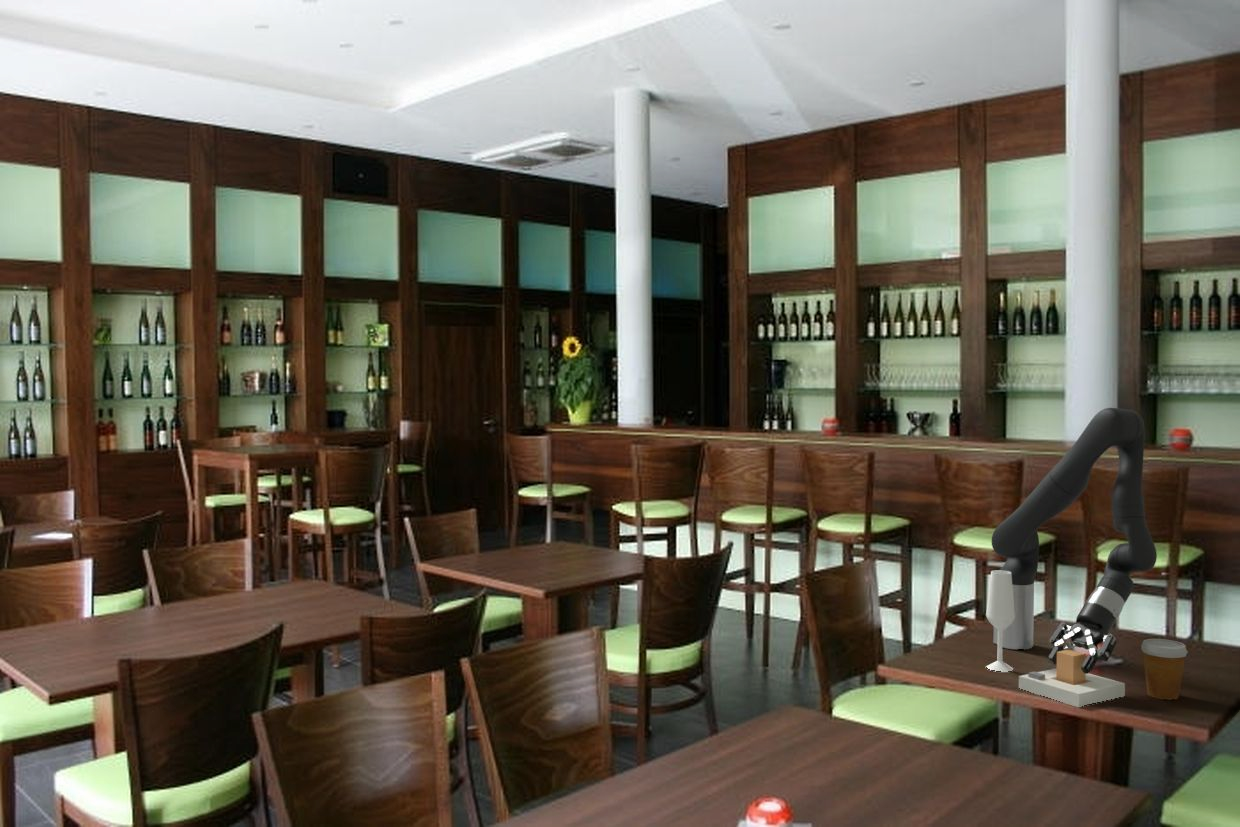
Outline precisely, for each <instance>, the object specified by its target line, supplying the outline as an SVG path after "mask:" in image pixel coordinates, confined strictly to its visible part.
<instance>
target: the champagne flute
mask: <svg viewBox="0 0 1240 827" xmlns="http://www.w3.org/2000/svg"><path fill="white" fill-rule="evenodd" d="M985 616H986V618H987V621H988V622H989V623H990V625H992V626H993V628H994V627H995V628H996V629H998V645H997V655H996V656H997V658H996V659H997V660H996V661H994V662H992V663H990V664H988V665H986V666H985V668H986V667H987V668H988V669H990V670H989V671H991V670H995V671H994V672H996V671H1001V672H1000V673H1009V672H1008V671H1012V670H1013V669H1014V667H1012V666H1011V665H1009V664H1007V663H1006V662H1005V661H1003V630H1004V629H1006V628H1007V627H1008V626H1009V625H1010V624H1011V623H1012V622H1013V621H1014V619H1015V611H1014V599H1013V587H1012V575H1011V572H1009V571H1002V570H1000V569H999V570H996V569H995V570H991V571H990V577H989V587H988V597H987V604H986V613H985ZM988 669H987V670H988ZM1012 672H1013V671H1012Z"/></svg>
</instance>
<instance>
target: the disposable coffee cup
mask: <svg viewBox="0 0 1240 827" xmlns="http://www.w3.org/2000/svg"><path fill="white" fill-rule="evenodd" d="M1140 649H1141V651H1142V656H1143V664H1144V673H1145V682H1146V689H1147V690H1146V691H1147V692H1146V693H1147V696H1149V697H1152V698H1153V697H1154V699H1159V700H1164V699H1165V700H1166V699H1167V701H1173V700H1172V699H1174V700H1178V699H1179V698H1178V697H1180V689H1181V685H1182V679H1183V672H1184V666H1185V659H1186V656H1187V654H1188V653H1189V652H1188V650H1187V648H1186V644H1184V643H1183V642H1181V641H1176V640H1171V639H1164V638H1148V639H1147V638H1146V639H1144V640H1142V644H1141V645H1140Z"/></svg>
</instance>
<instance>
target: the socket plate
mask: <svg viewBox="0 0 1240 827" xmlns="http://www.w3.org/2000/svg"><path fill="white" fill-rule="evenodd" d="M1056 673H1057V667H1056V668H1055V667H1054V668H1051V669H1046V670H1042V671H1034V670H1032V671H1030V672H1028V673H1026V674H1022V675H1018V689H1019V688H1020V689H1019V690H1021V689H1023V690H1022V691H1024V690H1026V691H1025V692H1027V691H1029V692H1028V693H1030V692H1031V694H1033V693H1034V694H1033V695H1037V696H1040V695H1041V696H1040V697H1043V696H1045V697H1044V698H1046V697H1048V698H1047V699H1049V698H1051V699H1050V700H1053V699H1054V700H1053V701H1056V700H1057V701H1056V702H1059V701H1060V703H1062V702H1063V704H1066V705H1068V706H1069V705H1070V706H1073V707H1076V708H1083V707H1085V706H1084V705H1087V704H1092V703H1096V704H1098V703H1097V702H1100V703H1103V702H1102V701H1104V702H1107V701H1106V700H1108V701H1112V700H1115V698H1117V699H1120V698H1119V697H1121V698H1125V697H1124V696H1125V695H1126V683H1124V682H1122V681H1117V680H1114V679H1111V678H1108V677H1102V676H1100V675H1095V674H1092V673H1090V672H1089V673H1088V674H1086V683H1082V684H1078V685H1072V684H1068V683H1065V682H1061V681H1058V680H1056ZM1111 699H1112V700H1111ZM1092 705H1093V704H1092ZM1082 706H1083V707H1082ZM1087 706H1088V705H1087Z"/></svg>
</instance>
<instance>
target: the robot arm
mask: <svg viewBox="0 0 1240 827" xmlns="http://www.w3.org/2000/svg"><path fill="white" fill-rule="evenodd" d="M1145 429H1146V428H1145V422H1144V419H1143V417H1142V416H1141V415H1140V413H1138V412H1137V411H1134V410H1131V409H1125V408H1120V407H1119V408H1117V407H1107V408H1104V409H1101V410H1100V411H1098V412H1097V413H1096V414H1095V415H1094V416H1093V418H1092V419H1091V420H1090V421H1089V423H1088V424H1087V425H1086V427H1085V429H1084V430H1083V431H1082V433H1081V434H1080V436H1079V437H1078V438H1077V440H1076V441H1075V443H1074V444H1073V445H1072V446H1071V447H1070V448H1069V449H1068V450H1067V452H1066V453H1065V454H1064V455H1063V457H1062V458H1060V460H1059V461H1058V462H1057V464H1056V465H1054V467H1052V468H1051V470H1050V471H1049V472H1048V473H1047V474H1046V475H1045V476H1044V477H1043V479H1041V481H1040V482H1039V483H1038V485H1037V486H1035V488H1034V489H1033V491H1031V492H1030V494H1029V495H1028V496H1027V497H1025V498H1026V499H1024V500H1023V502H1022V503H1021V504H1020V505H1019V507H1018V508H1016V509H1015V511H1013V512H1012V513H1011V514H1010V515H1009V516H1008V517H1006V518H1005V519H1004V520H1003V521H1001V523H1000V524H999V525H998V526H996V528H995V529H994V530H993V533H992V535H991V547H992V550H993V551H994V552H995V554H997V555H998V556H1000V557H1003V558H1006V560H1005V563H1004V565H1002V567H1001V568H1000V569H999V570H1002V571H1009V572H1011V575H1012V587H1013V599H1014V611H1015V619H1014V621H1013V622H1012V623H1011V624H1010V625H1009V626H1008V627H1007V628H1006V629H1004V630H1003V648H1004V649H1008V650H1009V649H1010V650H1018V649H1024V650H1031V649H1033V648H1034V614H1035V607H1034V606H1035V577H1036V575H1037V572H1038V568H1039V555H1040V539H1039V534H1038V530H1037V529H1039V528H1040V527H1041V526H1043V524H1045V523H1047V522H1048V521H1050V520H1052V519H1053V518H1055V517H1057V516H1058V515H1060V514H1061V513H1062V512H1064V511H1065V510H1067V509H1068V508H1069V507H1070V506H1071V505H1072V504H1073V503H1075V502H1076V500H1077V499H1078V498H1079V497H1080V496H1081V495H1082V494H1083V493H1084V491H1085V490H1086V489H1087V487H1088V485H1089V482H1090V478H1091V473H1092V470H1093V467H1094V466H1095V464H1096V462H1097V460H1098V459H1099V458H1100V457H1102V455H1103V454H1104V453H1105V452H1106V451H1107V450H1108V449H1110V448H1111V447H1116V450H1117V454H1118V471H1117V475H1116V477H1115V480H1114V484H1113V488H1112V491H1111V499H1110V500H1111V511H1112V512H1111V513H1112V519H1113V520H1112V522H1113V526H1114V530H1115V531H1116V532H1119V533H1122V534H1125V537H1126V540H1127V541H1128V542H1125V543H1124V542H1123V543H1119V544H1117V545H1116V546H1115V547H1113V549H1111V551H1110V553H1109V554H1108V557H1107V559H1106V560H1107V561H1106V564H1105V567H1104V572H1103V575H1102V577H1101V579H1100V580H1099V582H1098V584H1097V585H1096V587H1095V588H1094V589H1093V591H1092V592H1091V593H1090V595H1089V597H1088V598H1087V600H1086V601H1085V603H1084V604H1083V606H1082V608H1081V609H1080V611H1079V612H1078V615H1077V616H1076V619H1075V623H1074V624H1073V625H1072V626H1070V625H1067V623H1066V622H1065V621H1062V622H1061V623H1059V625H1058V626H1057V628H1056V629H1055V631H1054V633H1052V635H1051V637H1050V638H1049V643H1050V644H1051V646H1053V648H1052V650H1051V652H1050V653H1049V655H1048V660H1049V662H1050V663H1051V665H1056V666H1057V652H1059V651H1064V650H1069V649H1070V650H1073V649H1074V648H1079V649H1081V648H1083V649H1085V650H1088V651H1089V654H1088V655H1086V659H1085V661H1084V663H1083V665H1082V666H1081V670H1082V671H1083V672H1084V673H1086V674H1088V673H1089V674H1090V673H1091V672H1092V671H1093V669H1094V668H1095V666H1096V664H1097V662H1099V661H1104V662H1108V661H1109V659H1110V657H1111V655H1112V653H1113V651H1114V649H1115V647H1116V645H1117V643H1118V641H1117V639H1116V637H1115V636H1114V635H1113V634H1112V633H1110V632H1111V630H1112V629H1113V627H1114V625H1115V623H1116V621H1117V620H1118V618H1119V617H1120V616H1121V613H1122V611H1123V609H1124V606H1125V604H1126V603H1127V600H1128V599H1129V597H1130V596H1131V594H1132V592H1133V590H1134V585H1135V584H1134V581H1133V579H1132V578H1131V577H1130V575H1131V574H1132V573H1142V572H1143V573H1144V572H1149V571H1151V570H1152V569H1154V567H1155V566H1156V562H1157V557H1158V553H1157V548H1156V545H1155V543H1154V540H1153V537H1152V535H1151V532H1150V530H1149V527H1148V525H1147V523H1146V511H1145V504H1144V494H1143V469H1144V455H1145V454H1144V449H1145V439H1146V438H1145V437H1146V436H1145V434H1146V433H1145V432H1146V430H1145ZM1070 640H1071V642H1070ZM992 641H993V644H995V645H996V646H998V629H996V628H995V627H994V626H993V640H992ZM1100 644H1101V647H1100V649H1099V645H1100ZM1032 647H1033V648H1032ZM1030 648H1031V649H1030Z"/></svg>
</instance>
